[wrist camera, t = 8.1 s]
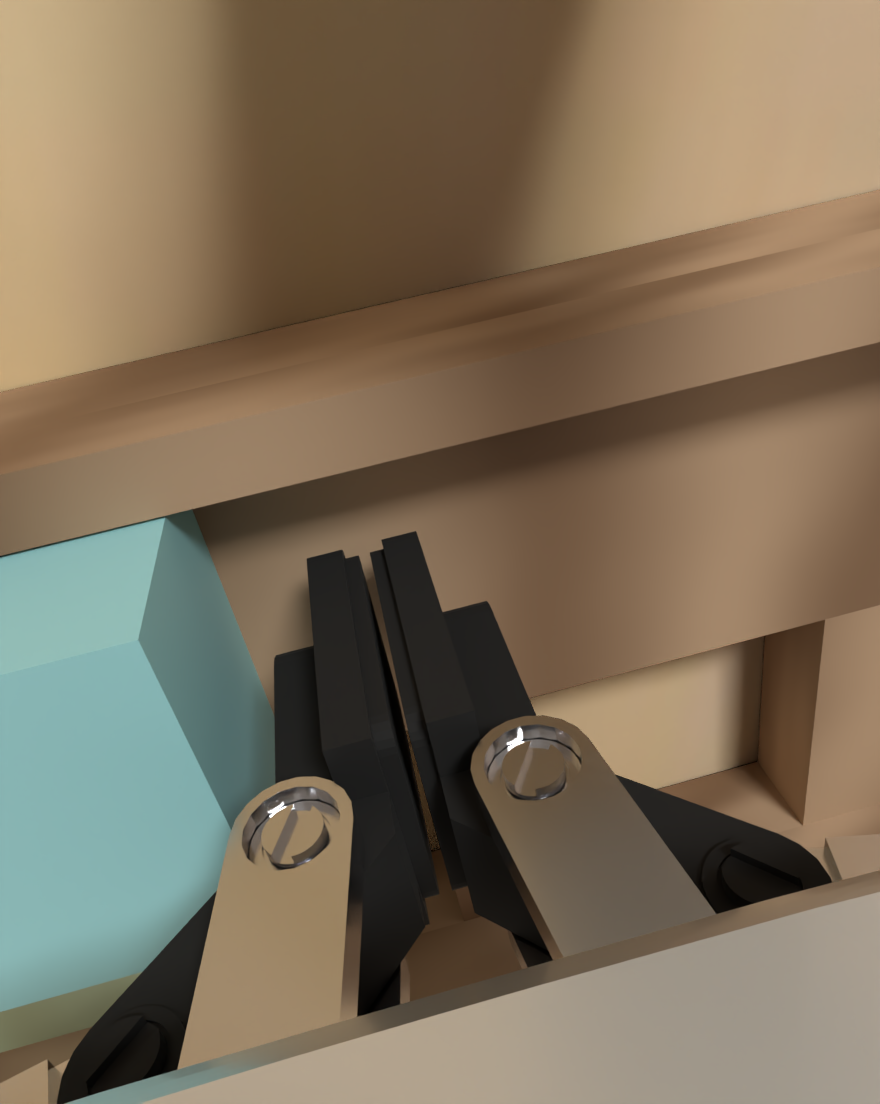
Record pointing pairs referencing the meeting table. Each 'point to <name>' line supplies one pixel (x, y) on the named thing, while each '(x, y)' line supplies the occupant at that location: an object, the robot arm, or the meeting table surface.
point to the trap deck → (532, 499)
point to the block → (117, 750)
